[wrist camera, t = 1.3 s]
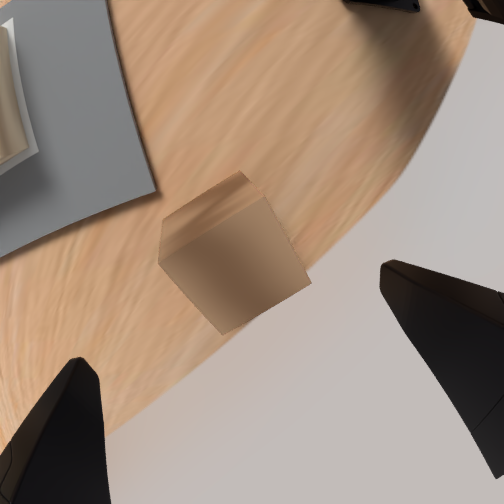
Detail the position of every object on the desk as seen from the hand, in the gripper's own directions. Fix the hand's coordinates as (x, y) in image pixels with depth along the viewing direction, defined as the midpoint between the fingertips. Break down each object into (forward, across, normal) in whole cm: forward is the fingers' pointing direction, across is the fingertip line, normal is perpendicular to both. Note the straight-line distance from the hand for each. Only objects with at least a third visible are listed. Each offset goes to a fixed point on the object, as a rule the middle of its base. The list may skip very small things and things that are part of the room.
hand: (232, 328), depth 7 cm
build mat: (+10, +10, -9) cm, 17 cm away
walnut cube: (+10, -1, +2) cm, 10 cm away
